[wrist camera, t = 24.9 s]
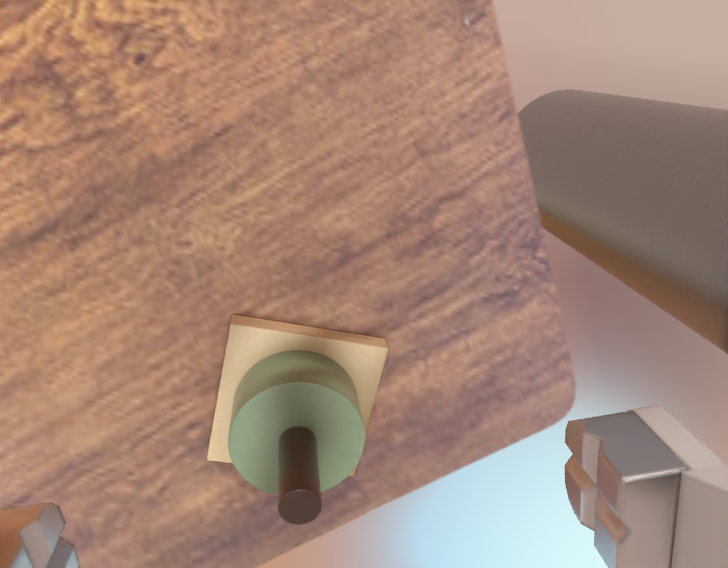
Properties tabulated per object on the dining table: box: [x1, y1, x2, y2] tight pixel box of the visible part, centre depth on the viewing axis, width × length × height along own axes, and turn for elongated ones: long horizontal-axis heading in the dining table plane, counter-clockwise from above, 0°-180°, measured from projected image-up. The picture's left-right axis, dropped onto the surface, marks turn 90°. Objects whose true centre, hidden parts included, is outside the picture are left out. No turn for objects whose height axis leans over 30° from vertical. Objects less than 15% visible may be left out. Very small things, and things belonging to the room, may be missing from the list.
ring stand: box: [207, 314, 388, 524], centre depth 36 cm, size 10×10×11 cm
